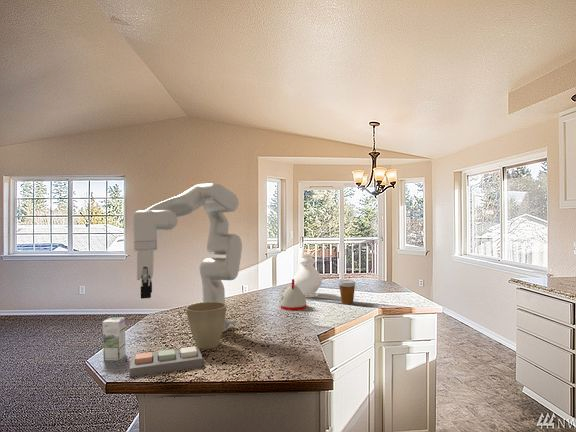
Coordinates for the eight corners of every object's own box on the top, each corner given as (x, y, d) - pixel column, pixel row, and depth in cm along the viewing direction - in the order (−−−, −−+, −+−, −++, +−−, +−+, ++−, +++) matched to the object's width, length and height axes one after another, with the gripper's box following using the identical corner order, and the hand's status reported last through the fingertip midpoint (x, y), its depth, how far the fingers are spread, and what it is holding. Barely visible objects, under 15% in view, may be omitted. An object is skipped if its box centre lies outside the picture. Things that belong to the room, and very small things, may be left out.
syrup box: (126, 357, 138) (125, 316, 138) (119, 363, 132) (118, 321, 132) (110, 357, 138) (109, 317, 138) (102, 363, 132) (101, 321, 132)
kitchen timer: (307, 304, 214) (306, 277, 214) (305, 310, 200) (305, 281, 200) (282, 304, 215) (281, 277, 215) (279, 310, 201) (278, 281, 201)
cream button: (195, 353, 133) (195, 346, 133) (196, 358, 128) (196, 351, 128) (180, 355, 131) (180, 348, 131) (181, 360, 126) (181, 353, 126)
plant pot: (210, 339, 156) (209, 300, 156) (235, 346, 146) (234, 304, 146) (178, 349, 144) (177, 307, 144) (204, 358, 135) (203, 312, 135)
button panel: (198, 356, 136) (198, 346, 136) (202, 369, 125) (202, 358, 125) (132, 366, 129) (131, 355, 129) (129, 380, 118) (129, 368, 118)
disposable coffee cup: (357, 304, 210) (356, 282, 210) (339, 305, 210) (339, 283, 210) (354, 300, 220) (354, 279, 220) (337, 301, 220) (337, 280, 220)
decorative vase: (327, 293, 241) (326, 254, 241) (313, 299, 226) (312, 256, 226) (302, 291, 251) (301, 253, 251) (288, 296, 236) (287, 255, 236)
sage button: (174, 356, 130) (174, 349, 130) (175, 361, 126) (174, 353, 126) (158, 358, 129) (158, 351, 129) (158, 363, 124) (158, 356, 124)
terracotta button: (152, 359, 128) (152, 351, 128) (152, 364, 123) (152, 356, 123) (136, 361, 126) (136, 353, 126) (135, 367, 122) (135, 359, 122)
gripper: (135, 245, 141) (136, 291, 141) (131, 248, 124) (132, 301, 124) (157, 244, 143) (158, 290, 143) (156, 247, 126) (157, 299, 126)
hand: (146, 295), depth 133 cm, fingers open, 9 cm apart
